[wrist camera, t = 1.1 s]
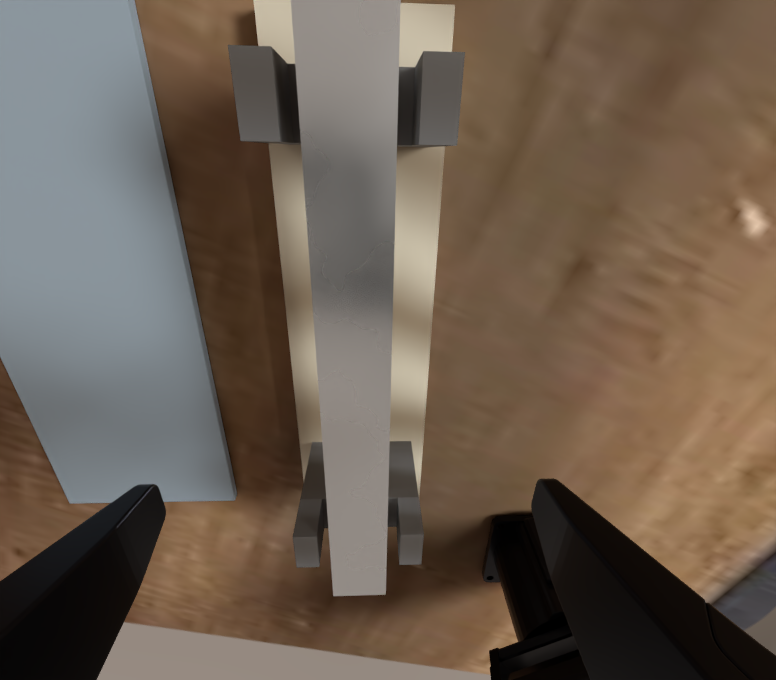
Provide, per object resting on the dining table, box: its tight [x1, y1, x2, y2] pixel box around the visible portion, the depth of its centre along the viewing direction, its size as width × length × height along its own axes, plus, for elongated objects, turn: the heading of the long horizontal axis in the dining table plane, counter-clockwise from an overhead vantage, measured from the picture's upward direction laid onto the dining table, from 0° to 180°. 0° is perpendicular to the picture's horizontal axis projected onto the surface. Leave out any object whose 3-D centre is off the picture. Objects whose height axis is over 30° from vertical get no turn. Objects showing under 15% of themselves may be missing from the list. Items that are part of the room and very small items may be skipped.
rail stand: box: [228, 0, 465, 567], centre depth 17 cm, size 24×7×7 cm, turn 179°
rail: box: [291, 0, 401, 596], centre depth 14 cm, size 22×2×2 cm, turn 179°
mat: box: [0, 0, 237, 503], centre depth 19 cm, size 25×10×1 cm, turn 179°
